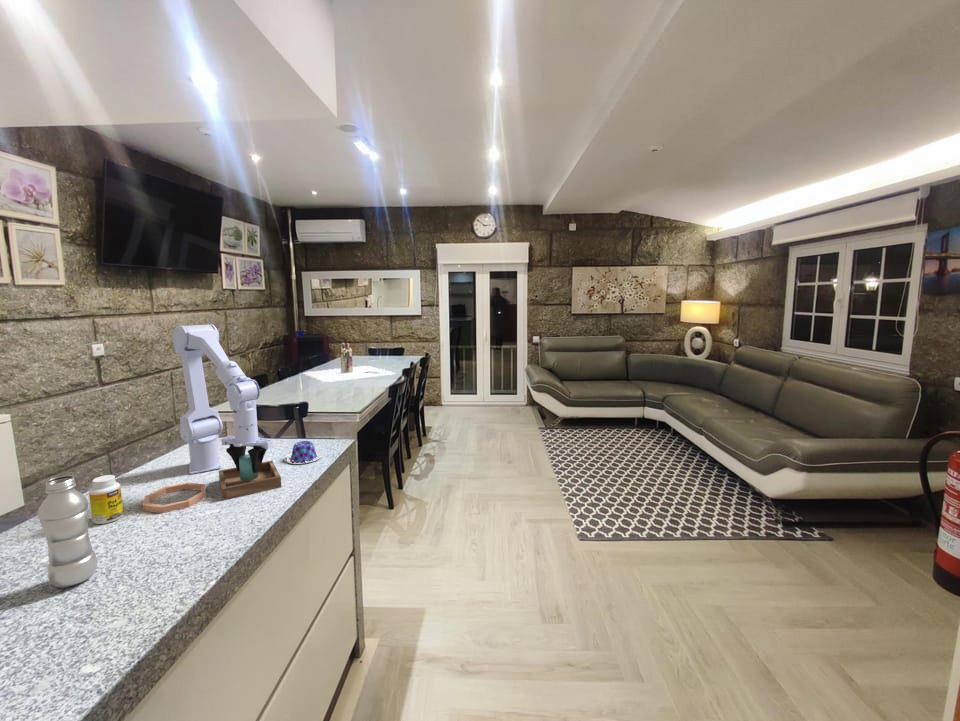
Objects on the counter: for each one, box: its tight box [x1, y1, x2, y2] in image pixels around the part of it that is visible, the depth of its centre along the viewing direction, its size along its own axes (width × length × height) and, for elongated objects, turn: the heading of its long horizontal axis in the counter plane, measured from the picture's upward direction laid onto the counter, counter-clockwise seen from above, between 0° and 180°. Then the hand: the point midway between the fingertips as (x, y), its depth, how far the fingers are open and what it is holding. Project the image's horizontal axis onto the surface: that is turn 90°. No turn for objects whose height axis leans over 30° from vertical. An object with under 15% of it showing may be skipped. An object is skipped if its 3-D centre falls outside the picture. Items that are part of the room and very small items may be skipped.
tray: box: [218, 460, 282, 501], centre depth 119 cm, size 14×14×3 cm
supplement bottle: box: [88, 474, 124, 525], centre depth 99 cm, size 6×6×10 cm
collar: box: [142, 481, 207, 514], centre depth 110 cm, size 13×13×2 cm
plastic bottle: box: [37, 474, 98, 589], centre depth 77 cm, size 6×7×20 cm
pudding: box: [283, 440, 324, 465], centre depth 138 cm, size 12×12×5 cm
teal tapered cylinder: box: [239, 453, 258, 481], centre depth 119 cm, size 4×6×6 cm
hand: (248, 470), depth 119 cm, fingers closed on teal tapered cylinder, 4 cm apart
